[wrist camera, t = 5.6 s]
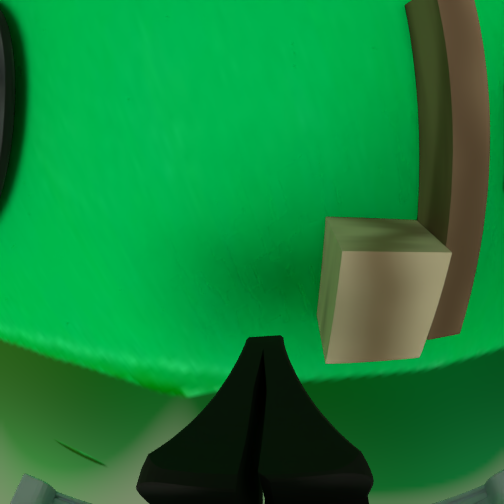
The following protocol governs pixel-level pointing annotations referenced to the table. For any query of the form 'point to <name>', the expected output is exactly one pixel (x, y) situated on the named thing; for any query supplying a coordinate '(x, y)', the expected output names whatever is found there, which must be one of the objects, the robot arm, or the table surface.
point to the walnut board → (451, 142)
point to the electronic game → (6, 97)
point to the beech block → (378, 288)
